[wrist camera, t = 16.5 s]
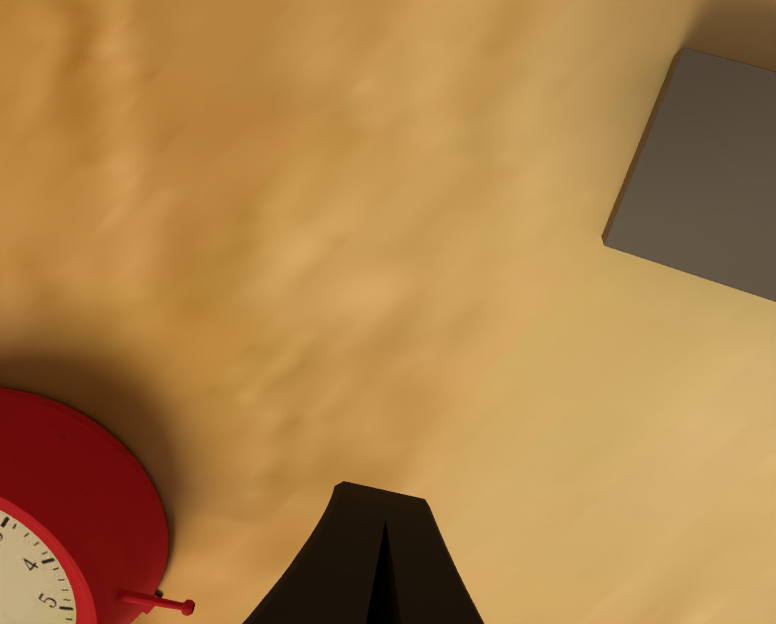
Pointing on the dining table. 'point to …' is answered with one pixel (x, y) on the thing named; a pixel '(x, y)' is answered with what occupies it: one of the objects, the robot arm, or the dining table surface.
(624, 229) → the domino
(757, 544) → the dining table surface
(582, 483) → the dining table surface
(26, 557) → the alarm clock
